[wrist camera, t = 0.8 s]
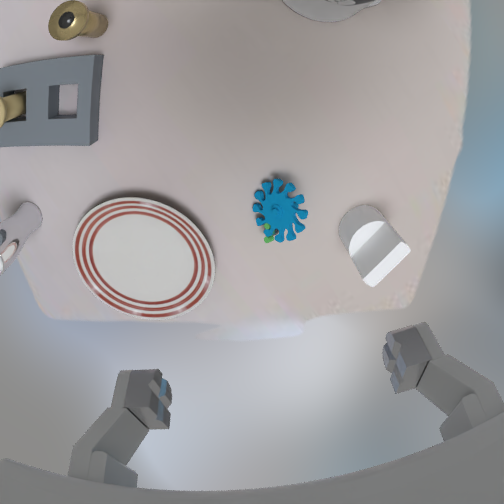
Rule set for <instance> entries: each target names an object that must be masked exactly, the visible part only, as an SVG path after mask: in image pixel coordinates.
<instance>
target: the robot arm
mask: <svg viewBox="0 0 504 504" xmlns="http://www.w3.org/2000/svg"><path fill="white" fill-rule="evenodd" d="M283 2H284V3H285V4H286V5H287V6H288V7H290V8H291V9H292V10H293V11H295V12H297V13H298V14H300V15H302V16H304V17H306V18H309V19H312V20H316V21H321V22H337V21H342V20H345V19H347V18H350V17H351V16H353V15H355V14H356V13H357V12H358V11H360V10H361V9H363V8H366V7H371V6H375V5H377V4H379V3H380V2H381V0H283ZM386 341H387V343H386V344H385V345H384V347H383V352H382V353H383V361H384V365H385V367H386V370H388V371H389V372H391V373H392V375H391V378H390V380H391V383H392V386H393V388H394V391H395V394H397V393H400V392H404V391H407V390H410V389H414V388H416V390H418V391H419V392H420V393H421V394H422V395H424V396H425V397H426V398H427V399H428V400H430V401H431V402H432V403H433V404H434V405H436V406H437V407H438V408H439V409H440V410H441V411H443V412H444V413H445V414H446V415H447V416H448V418H447V419H446V420H445V421H444V422H443V424H442V425H441V427H440V432H441V434H442V437H443V440H444V442H442V443H439V444H437V445H435V446H432V447H430V448H427V449H425V450H422V451H419V452H417V453H414V454H411V455H408V456H406V457H403V458H400V459H397V460H394V461H391V462H388V463H384V464H381V465H378V466H374V467H371V468H367V469H364V470H360V471H356V472H352V473H348V474H344V475H340V476H335V477H330V478H326V479H321V480H316V481H310V482H304V483H298V484H291V485H284V486H277V487H268V488H259V489H245V490H228V491H174V490H173V491H172V490H157V489H145V488H137V476H138V474H137V473H136V472H135V471H134V470H132V469H130V468H128V467H127V466H126V465H127V463H128V462H129V460H130V459H131V457H132V456H133V454H134V453H135V451H136V450H137V448H138V447H139V445H140V444H141V442H142V441H143V439H144V438H145V436H146V435H147V433H148V432H149V430H148V429H169V426H170V412H169V411H168V409H167V408H168V407H169V406H170V405H171V403H172V393H171V388H170V385H169V383H168V382H167V380H165V379H163V378H162V373H161V372H160V370H159V369H152V370H151V369H150V370H123V371H120V373H119V374H118V377H117V381H116V386H115V390H114V395H113V400H112V404H111V408H107V409H106V410H105V411H104V412H103V413H102V415H101V416H100V417H99V418H98V419H97V420H96V421H95V422H94V424H93V425H92V426H91V427H90V428H89V429H88V430H87V432H86V433H85V434H84V435H83V436H82V437H81V438H80V439H79V441H78V442H77V443H76V444H75V445H74V446H73V450H72V455H71V460H70V466H69V471H68V476H66V475H61V474H57V473H54V472H50V471H46V470H42V469H39V468H36V467H32V466H29V465H26V464H23V463H20V462H17V461H14V460H11V459H7V458H5V459H2V460H0V504H504V403H503V401H502V399H501V397H500V395H499V393H498V390H497V389H496V387H495V385H494V383H493V382H492V381H490V380H489V379H487V378H486V377H484V376H483V375H480V374H479V373H478V372H476V371H474V370H473V369H471V368H470V367H468V366H466V365H465V364H463V363H462V362H460V361H458V360H457V359H455V358H453V357H452V356H450V355H448V354H447V355H445V354H444V353H443V351H442V349H441V347H440V345H439V343H438V342H437V340H436V338H435V336H434V334H433V333H432V331H431V329H430V327H429V325H428V324H427V323H426V322H422V323H419V324H416V325H411V326H407V327H404V328H401V329H397V330H393V331H390V332H388V333H387V335H386Z"/></svg>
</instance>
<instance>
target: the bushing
mask: <svg viewBox="0 0 504 504" xmlns="http://www.w3.org/2000/svg"><path fill="white" fill-rule="evenodd" d="M107 27H108V20H107V18H106V17H105V16H104V15H102V14H98V13H95V12H92V11H89V10H88V8H87V6H86V5H85V4H84V3H82V2H79V1H75V0H71V1H67V2H64V3H62V4H61V5H59V6H58V7H57V8H56V9H55V10H54V12H53V13H52V15H51V17H50V20H49V25H48V28H49V33H50V35H51V36H52V37H53V38H54V39H57V40H71V39H73V38H75V37H77V36H83V37H91V38H96V37H99V36H101V35H102V34H103V33H104V32H105V31H106V29H107Z"/></svg>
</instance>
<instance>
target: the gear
mask: <svg viewBox="0 0 504 504" xmlns="http://www.w3.org/2000/svg"><path fill="white" fill-rule="evenodd" d="M273 185H274V189H273V192H272V194H271V192H270V188H271V182H266V183H262V188H263V189H264V191H265V195H266V199H264V194H263V191H257V192H256V193H255V195H254V196H255V198H256V199H258V200H259V201H260V202H261V204H262V206H263V209H262V207H261V205H260V204H259V203H257V204H254V205H253V211H254V212H260V213H261V214H263V215H264V216H265V219H264V218H262V217H259V218H257V219H256V222H257V225H258V226H260V225H263V224H264V223H265V225H264V227H265V230H264V234H265V235H266V236H267V237H265V238H264V241H265V242H266V243H269V242H271V241H273V240H274V237H273V236H274V235H276V234H278V232H279V234H278V235H276V236H275V240H276V241H278V242H283V241H284V231H285V229H287V230H288V234H287V236H286V238H287V240H288V241H291V240H294V239H296V235H295V233H294V231H293V227H292V223H294V224H295V230H296V232H297V233H299V232H302V231H303V230H304V229H305V226H304V225H303V224H302V223H300V222H299V221H298V219H297V217H296V215H295V214H296V213H297V214H298V216H299V218H300V219H306V218H307V215H308V211H307V210H301V209H298V206H299V205H298V204H301V203H304V197H303V195H302V194H300V195H297V196H296V197H294V198H290V197H288V195H287V193H288V192H292V191H294V190H295V189H296V188H295V186H294V185H293V184H292V183H287V184H286V186H285V189H284V191H283V192H281V193H280V192H279V187H280V186H282V185H283V181H282V180H281V179H274V180H273ZM294 201H295V202H294Z"/></svg>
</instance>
